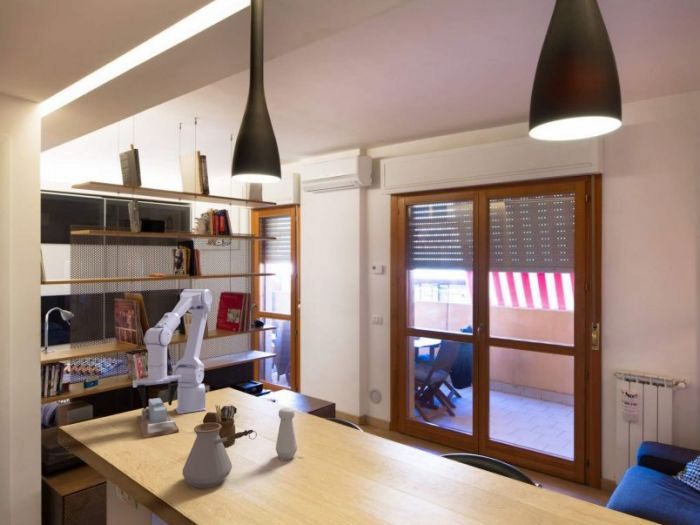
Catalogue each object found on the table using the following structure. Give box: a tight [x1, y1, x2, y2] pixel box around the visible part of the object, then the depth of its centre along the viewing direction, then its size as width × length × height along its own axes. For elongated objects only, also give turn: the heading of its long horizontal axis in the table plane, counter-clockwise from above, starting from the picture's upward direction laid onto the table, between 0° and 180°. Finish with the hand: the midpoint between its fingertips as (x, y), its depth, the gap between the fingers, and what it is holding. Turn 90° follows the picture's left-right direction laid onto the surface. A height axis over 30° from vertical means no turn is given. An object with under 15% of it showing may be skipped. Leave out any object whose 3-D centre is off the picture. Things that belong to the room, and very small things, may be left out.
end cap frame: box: [136, 405, 180, 439], centre depth 149 cm, size 10×20×4 cm, turn 30°
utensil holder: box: [215, 403, 236, 447], centre depth 134 cm, size 6×6×12 cm
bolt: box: [202, 404, 238, 424], centre depth 154 cm, size 6×5×15 cm
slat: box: [148, 397, 168, 424], centre depth 149 cm, size 4×15×6 cm, turn 30°
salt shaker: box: [275, 407, 298, 461], centre depth 125 cm, size 6×6×13 cm
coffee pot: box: [182, 423, 258, 489], centre depth 108 cm, size 21×12×15 cm, turn 57°
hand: (157, 406), depth 150 cm, fingers open, 7 cm apart
